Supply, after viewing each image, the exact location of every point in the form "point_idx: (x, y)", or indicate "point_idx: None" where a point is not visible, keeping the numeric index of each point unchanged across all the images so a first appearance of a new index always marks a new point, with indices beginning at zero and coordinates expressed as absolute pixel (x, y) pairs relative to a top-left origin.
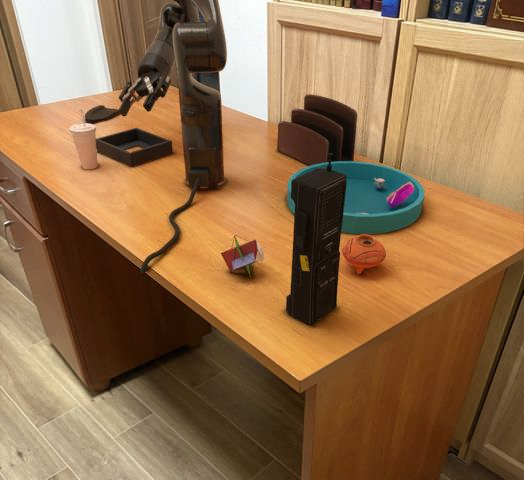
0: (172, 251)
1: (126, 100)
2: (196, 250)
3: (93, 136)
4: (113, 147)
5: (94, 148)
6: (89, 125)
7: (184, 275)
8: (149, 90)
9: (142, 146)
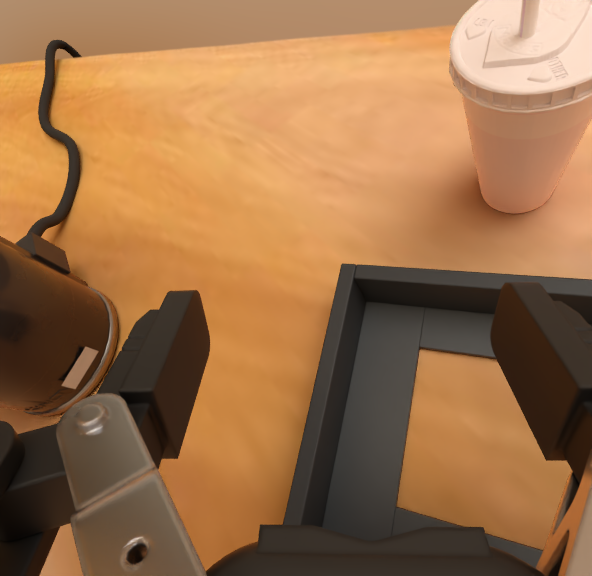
0: None
1: (574, 401)
2: (13, 123)
3: (463, 96)
4: (489, 273)
5: (471, 140)
6: (535, 68)
7: (14, 79)
8: (128, 438)
9: (536, 551)
